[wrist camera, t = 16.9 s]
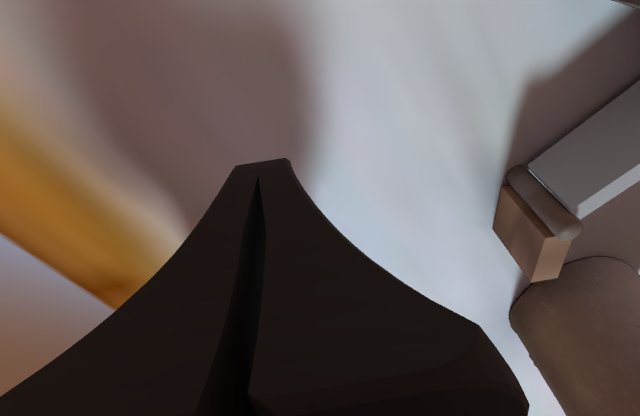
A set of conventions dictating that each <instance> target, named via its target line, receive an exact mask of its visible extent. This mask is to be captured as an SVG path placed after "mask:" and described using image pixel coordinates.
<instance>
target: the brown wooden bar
mask: <svg viewBox="0 0 640 416" xmlns="http://www.w3.org/2000/svg"><path fill="white" fill-rule="evenodd" d="M506 180H507V182H508V183H509V184H510V185H509V186H503V187H501V192H500V196H499V201H498V206H497V211H496V215H495V220H494V225H493V230H494V232H495V233H496V235H497V236H498V237H499V239H500V240H501V242H502V243H503V244H504V246H505V247H506V249H507V250H508V251H509V253H510V254H511V256H512V257H513V258H514V260H515V261H516V263H517V264H518V265H519V267H520V268H521V270H522V271H523V272H524V274H525V275H526V277H527V278H528V279H529V281H530V282H531V283H532V282H537V281H543V280H549V279H555V278H558V276H559V273H560V270H561V268H562V265H563V262H564V260H565V257H566V255H567V252H568V249H569V247H570V244H571V242H572V239H574V238H575V237H577V236H578V235H579V234H580V233H581V232H582V230H583V225H582V224H581V223H580V222H579V221H578V220H577V219H576V218H575V217H574V216H573V215H572V214H571V213H570V212H569V211H568V210H567V209H566V208H565V207H564V206H563V205H562V204H561V203H560V202H559V201H558V200H557V199H556V198H555V197H554V196H553V195H552V194H551V193H550V192H549V191H548V190H547V189H546V188H545V187H544V186H543V185H542V184H541V183H540V182H539V181H538V180H537V179H536V178H535V177H534V176H533V175H532V174H531V173H530V172H529V171H528V170H527V169H526V168H525V167H524V166H516V167H514V168H512V169H511V170H510V171H509V172H508V173H507V175H506Z"/></svg>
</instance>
